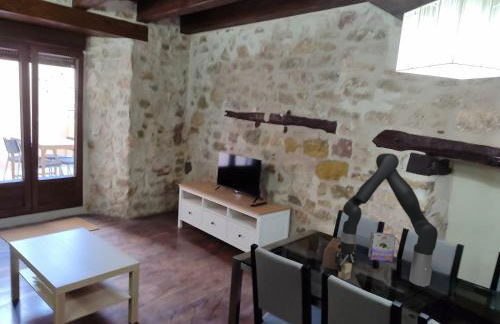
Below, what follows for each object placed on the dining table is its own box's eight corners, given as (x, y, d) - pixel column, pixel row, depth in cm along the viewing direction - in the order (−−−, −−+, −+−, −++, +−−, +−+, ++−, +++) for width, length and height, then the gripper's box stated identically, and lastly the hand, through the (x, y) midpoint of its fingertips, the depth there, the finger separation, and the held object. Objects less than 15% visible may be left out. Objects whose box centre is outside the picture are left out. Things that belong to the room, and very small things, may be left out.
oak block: (350, 278, 189) (351, 264, 188) (344, 279, 186) (346, 265, 185) (343, 274, 192) (345, 260, 191) (338, 276, 190) (339, 262, 189)
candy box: (390, 258, 222) (393, 233, 219) (392, 262, 216) (396, 236, 214) (367, 256, 223) (370, 231, 221) (369, 260, 217) (373, 234, 215)
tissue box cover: (347, 273, 195) (349, 255, 194) (322, 266, 201) (324, 249, 200) (354, 258, 219) (356, 242, 218) (331, 252, 225) (333, 237, 223)
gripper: (344, 244, 180) (340, 275, 182) (362, 241, 188) (358, 270, 190) (333, 239, 186) (329, 269, 188) (351, 236, 194) (347, 265, 196)
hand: (344, 269), depth 189 cm, fingers open, 8 cm apart
